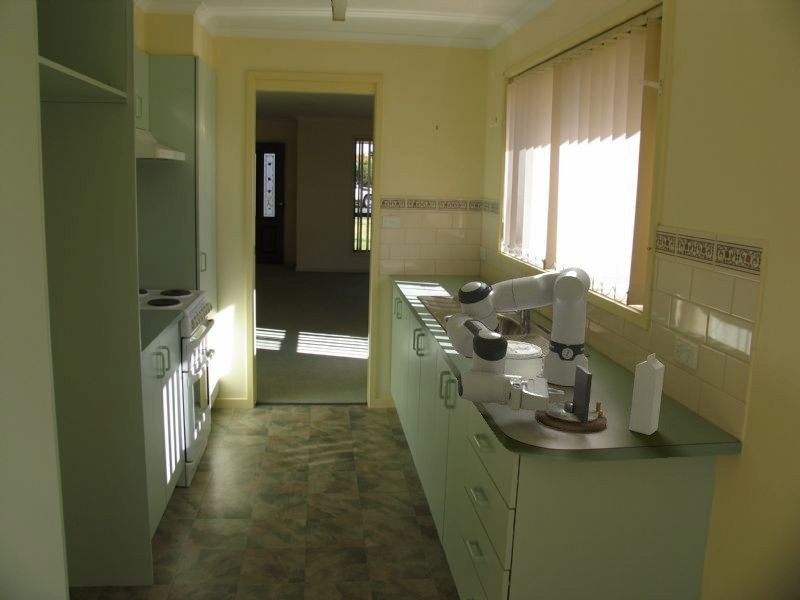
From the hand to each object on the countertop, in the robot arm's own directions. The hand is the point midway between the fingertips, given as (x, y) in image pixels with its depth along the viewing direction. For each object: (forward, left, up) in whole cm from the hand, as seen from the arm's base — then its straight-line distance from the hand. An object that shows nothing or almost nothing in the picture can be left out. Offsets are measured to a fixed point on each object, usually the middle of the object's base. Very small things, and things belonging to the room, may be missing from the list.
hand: (564, 395), depth 202 cm
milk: (-5, +23, -9) cm, 25 cm away
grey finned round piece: (-5, +4, -7) cm, 10 cm away
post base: (-7, +3, -9) cm, 12 cm away
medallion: (-84, -17, -10) cm, 86 cm away
